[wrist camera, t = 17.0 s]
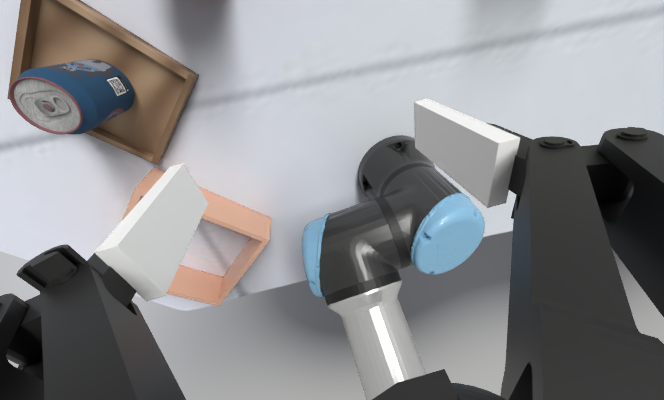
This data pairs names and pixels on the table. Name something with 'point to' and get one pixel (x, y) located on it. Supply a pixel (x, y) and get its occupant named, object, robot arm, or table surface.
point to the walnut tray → (118, 50)
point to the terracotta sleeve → (222, 214)
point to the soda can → (71, 96)
